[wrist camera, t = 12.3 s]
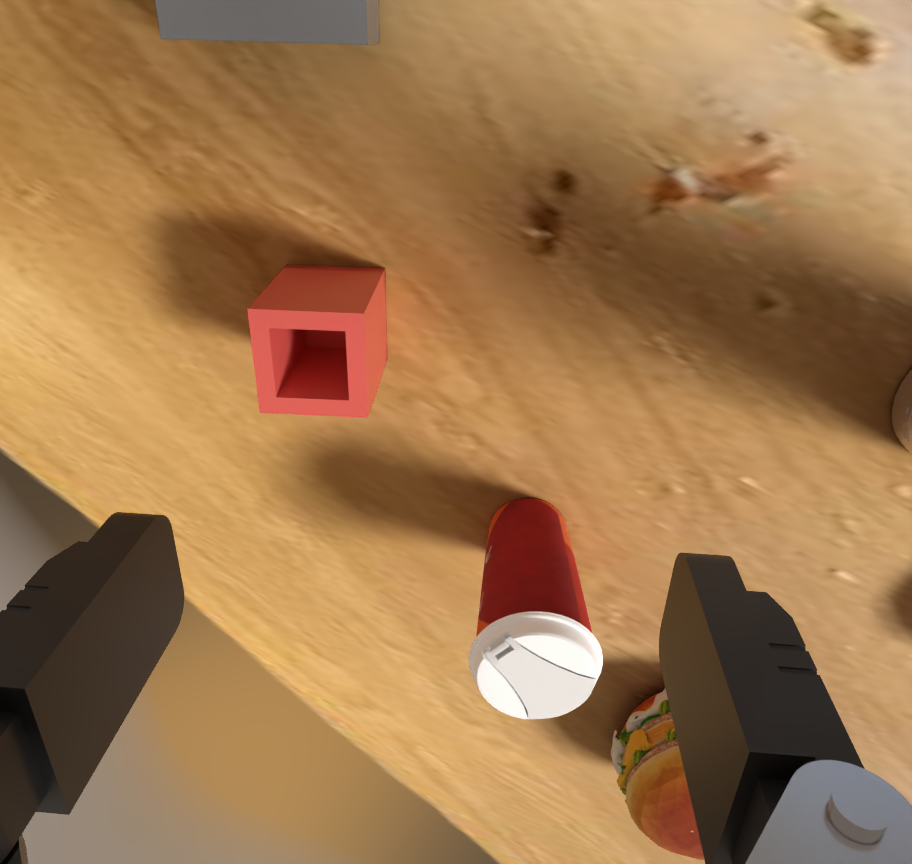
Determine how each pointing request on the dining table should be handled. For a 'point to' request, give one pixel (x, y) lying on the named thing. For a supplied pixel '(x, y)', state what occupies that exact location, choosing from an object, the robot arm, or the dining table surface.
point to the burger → (656, 778)
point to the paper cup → (533, 617)
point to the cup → (320, 340)
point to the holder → (271, 20)
